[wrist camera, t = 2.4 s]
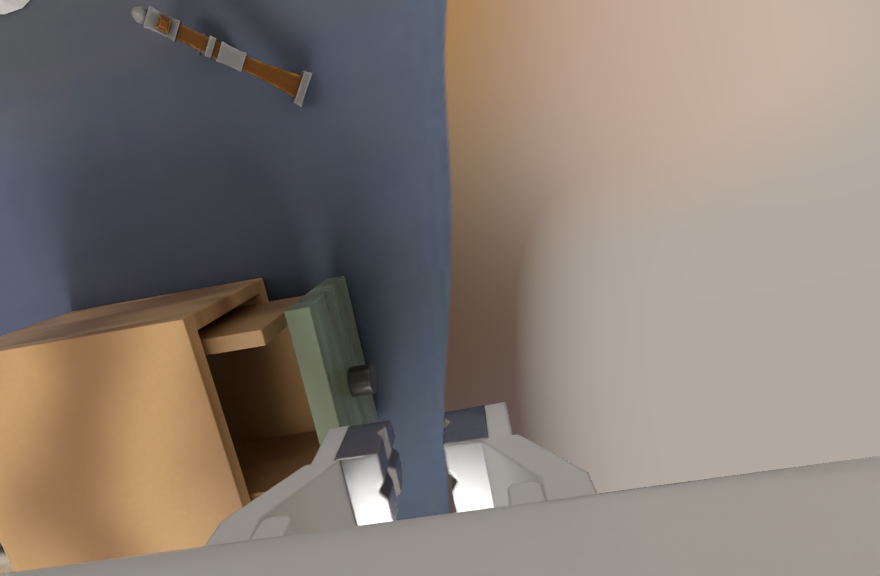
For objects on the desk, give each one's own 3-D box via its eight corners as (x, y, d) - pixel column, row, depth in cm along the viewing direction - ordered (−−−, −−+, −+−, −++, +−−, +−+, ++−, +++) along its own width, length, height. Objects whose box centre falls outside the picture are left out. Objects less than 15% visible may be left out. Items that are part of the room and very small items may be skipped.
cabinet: (263, 277, 29) (182, 319, 20) (309, 446, 31) (255, 545, 23) (70, 311, 30) (-82, 364, 21) (130, 473, 32) (16, 577, 24)
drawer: (364, 271, 27) (335, 302, 21) (400, 431, 30) (384, 504, 23) (159, 307, 28) (68, 348, 22) (209, 460, 31) (141, 538, 24)
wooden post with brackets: (152, 2, 24) (132, -14, 21) (304, 74, 28) (312, 72, 24) (143, 38, 25) (122, 29, 21) (294, 104, 28) (301, 107, 25)
